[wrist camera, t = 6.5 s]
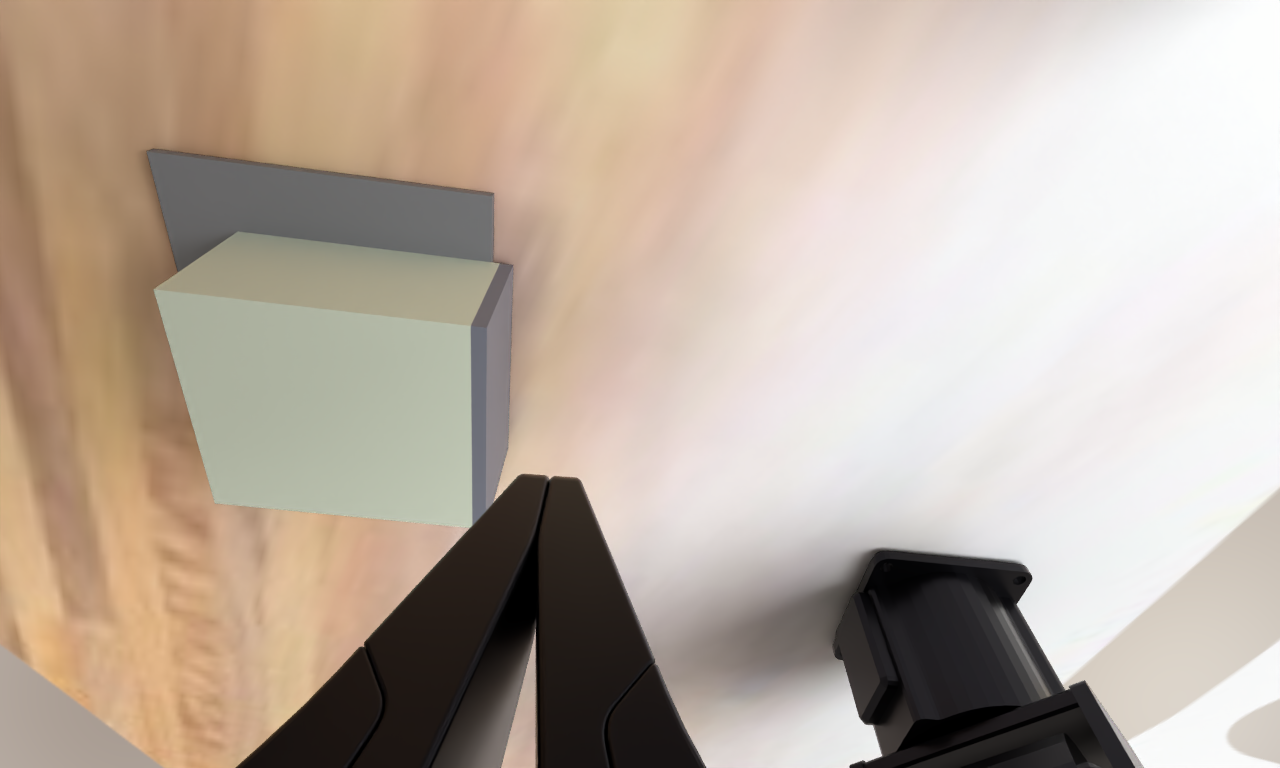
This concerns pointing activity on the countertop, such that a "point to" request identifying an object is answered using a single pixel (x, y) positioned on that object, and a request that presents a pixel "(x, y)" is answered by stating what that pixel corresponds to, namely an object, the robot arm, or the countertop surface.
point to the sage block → (345, 377)
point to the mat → (314, 208)
